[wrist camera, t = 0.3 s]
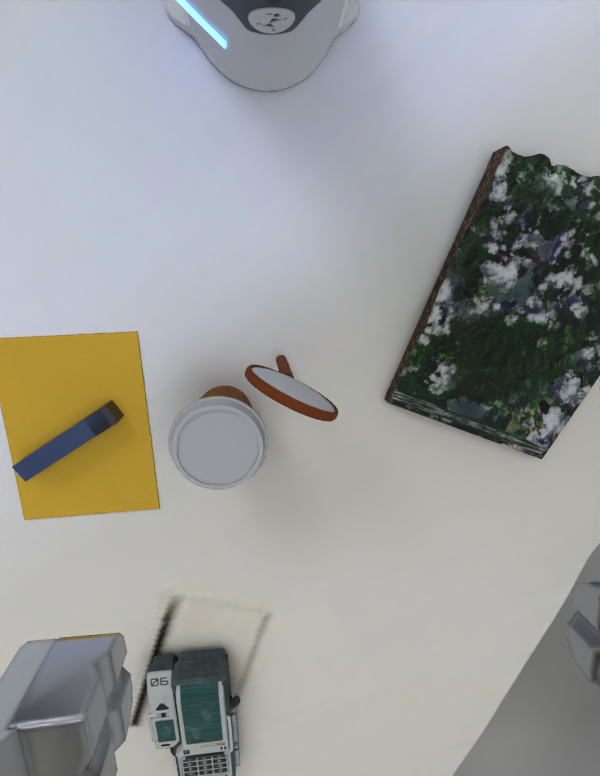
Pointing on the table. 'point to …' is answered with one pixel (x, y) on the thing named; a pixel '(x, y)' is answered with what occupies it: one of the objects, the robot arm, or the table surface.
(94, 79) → the table surface
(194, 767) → the communication device
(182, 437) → the disposable coffee cup
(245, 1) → the robot arm
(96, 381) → the cloth
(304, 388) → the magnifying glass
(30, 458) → the tall navy blue post
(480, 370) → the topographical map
